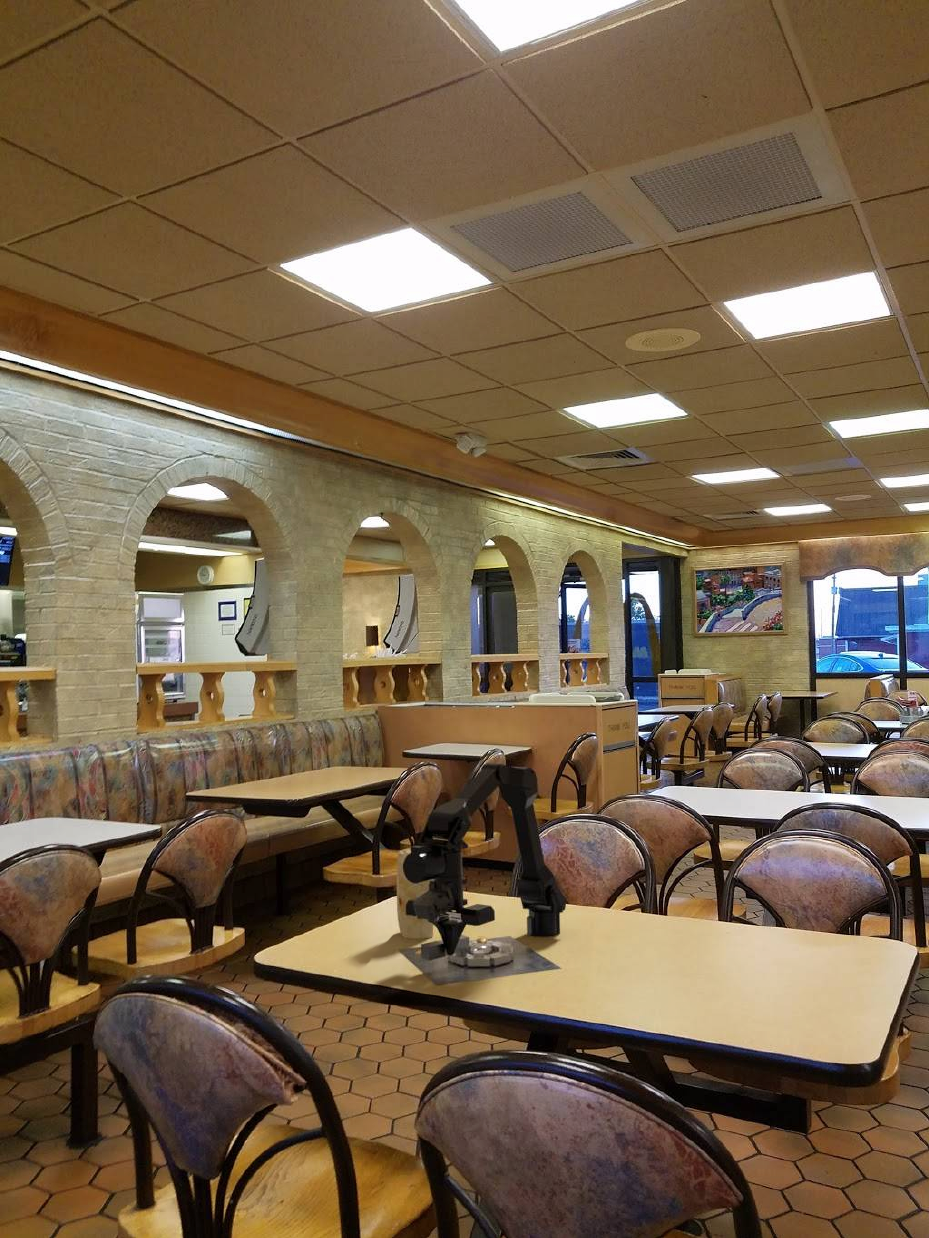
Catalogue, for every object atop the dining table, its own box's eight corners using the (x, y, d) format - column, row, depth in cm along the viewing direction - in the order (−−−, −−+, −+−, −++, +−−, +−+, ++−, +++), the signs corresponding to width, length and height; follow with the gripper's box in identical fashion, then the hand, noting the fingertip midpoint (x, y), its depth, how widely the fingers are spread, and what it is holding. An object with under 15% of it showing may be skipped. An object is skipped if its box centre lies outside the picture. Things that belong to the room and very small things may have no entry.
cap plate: (510, 940, 216) (509, 924, 217) (561, 973, 192) (561, 955, 192) (397, 954, 207) (397, 938, 208) (436, 990, 183) (436, 972, 183)
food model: (441, 938, 219) (439, 848, 220) (422, 945, 214) (421, 853, 215) (407, 932, 225) (406, 844, 226) (388, 939, 219) (387, 849, 220)
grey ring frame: (483, 943, 209) (483, 920, 210) (526, 956, 199) (525, 932, 200) (405, 964, 196) (404, 939, 196) (446, 978, 186) (446, 952, 186)
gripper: (385, 876, 192) (387, 957, 191) (458, 886, 181) (461, 972, 180) (422, 867, 201) (425, 944, 200) (495, 876, 189) (497, 958, 188)
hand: (450, 954), depth 192 cm, fingers closed
